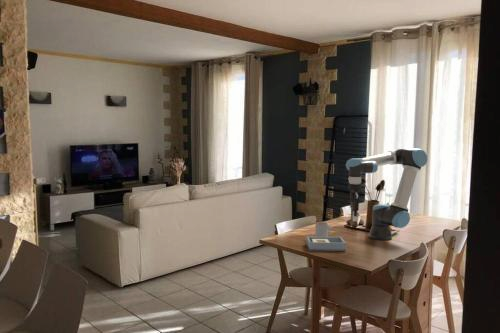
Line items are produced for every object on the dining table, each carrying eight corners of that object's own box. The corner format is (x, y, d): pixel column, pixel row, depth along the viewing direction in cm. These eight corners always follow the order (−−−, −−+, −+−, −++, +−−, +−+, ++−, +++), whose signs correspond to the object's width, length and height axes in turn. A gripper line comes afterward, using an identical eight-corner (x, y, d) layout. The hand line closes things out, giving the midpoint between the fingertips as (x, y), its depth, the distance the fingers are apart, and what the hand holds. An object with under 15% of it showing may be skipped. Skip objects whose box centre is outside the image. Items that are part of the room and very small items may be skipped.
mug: (320, 241, 265) (321, 225, 264) (312, 238, 272) (312, 222, 272) (334, 239, 272) (334, 223, 271) (325, 236, 279) (326, 221, 278)
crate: (340, 244, 259) (340, 237, 259) (345, 251, 245) (345, 243, 245) (306, 244, 259) (306, 236, 259) (309, 250, 245) (309, 242, 245)
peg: (356, 223, 253) (356, 201, 251) (357, 225, 249) (358, 202, 247) (349, 223, 253) (350, 201, 252) (351, 225, 249) (351, 202, 248)
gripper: (345, 181, 257) (344, 217, 259) (352, 185, 240) (351, 223, 242) (357, 181, 257) (356, 217, 259) (364, 185, 240) (363, 223, 242)
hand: (354, 220), depth 251 cm, fingers closed on peg, 4 cm apart
